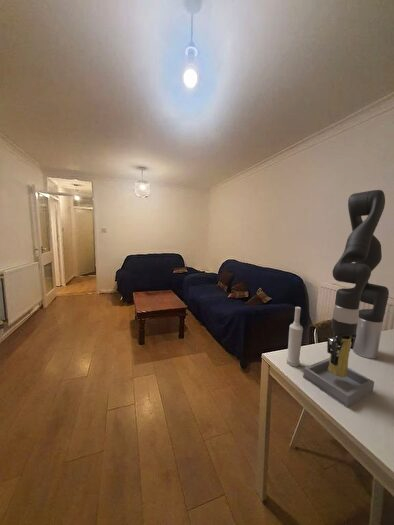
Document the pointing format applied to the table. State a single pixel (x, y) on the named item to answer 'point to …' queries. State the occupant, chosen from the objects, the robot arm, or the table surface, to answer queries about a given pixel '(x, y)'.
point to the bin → (339, 383)
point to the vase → (341, 360)
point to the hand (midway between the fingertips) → (338, 361)
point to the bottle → (295, 340)
